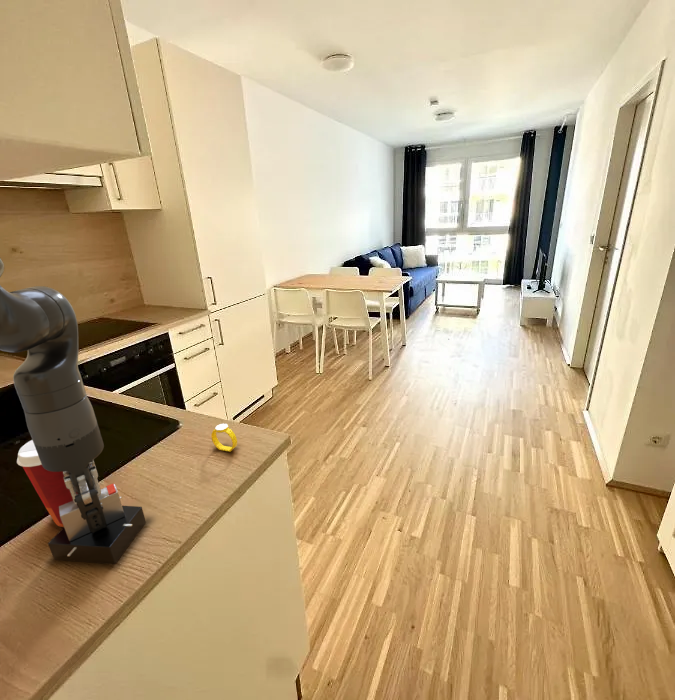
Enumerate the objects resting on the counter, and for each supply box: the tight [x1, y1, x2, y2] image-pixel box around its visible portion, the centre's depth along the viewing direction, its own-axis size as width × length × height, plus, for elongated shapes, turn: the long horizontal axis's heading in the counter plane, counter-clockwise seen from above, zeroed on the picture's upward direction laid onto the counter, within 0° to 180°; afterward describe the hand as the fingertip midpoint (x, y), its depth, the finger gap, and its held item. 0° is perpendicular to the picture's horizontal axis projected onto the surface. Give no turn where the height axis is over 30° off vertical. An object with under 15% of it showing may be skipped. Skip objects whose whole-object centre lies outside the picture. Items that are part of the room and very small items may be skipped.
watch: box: [210, 423, 238, 452], centre depth 80 cm, size 6×3×6 cm, turn 69°
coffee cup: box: [16, 439, 78, 528], centre depth 61 cm, size 8×8×15 cm
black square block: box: [47, 495, 147, 565], centre depth 58 cm, size 12×12×4 cm
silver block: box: [59, 483, 125, 541], centre depth 56 cm, size 8×3×5 cm, turn 130°
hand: (97, 521), depth 57 cm, fingers closed on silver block, 2 cm apart
